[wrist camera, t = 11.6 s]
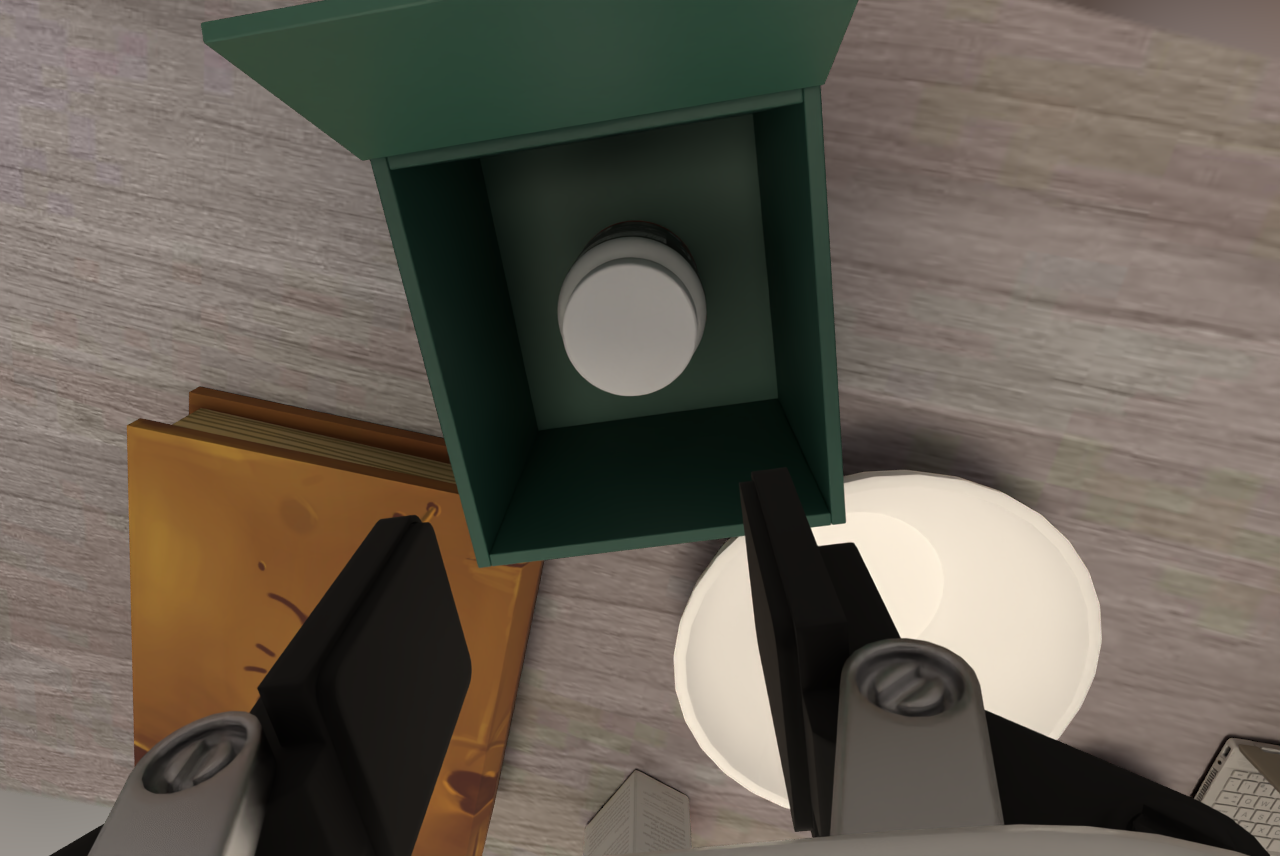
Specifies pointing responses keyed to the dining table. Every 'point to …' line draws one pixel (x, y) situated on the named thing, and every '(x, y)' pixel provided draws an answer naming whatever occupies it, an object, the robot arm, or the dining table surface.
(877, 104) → the dining table surface
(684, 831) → the cosmetic box
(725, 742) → the bowl
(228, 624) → the diary
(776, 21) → the flap
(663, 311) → the pill bottle
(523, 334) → the green square bin
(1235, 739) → the laptop
